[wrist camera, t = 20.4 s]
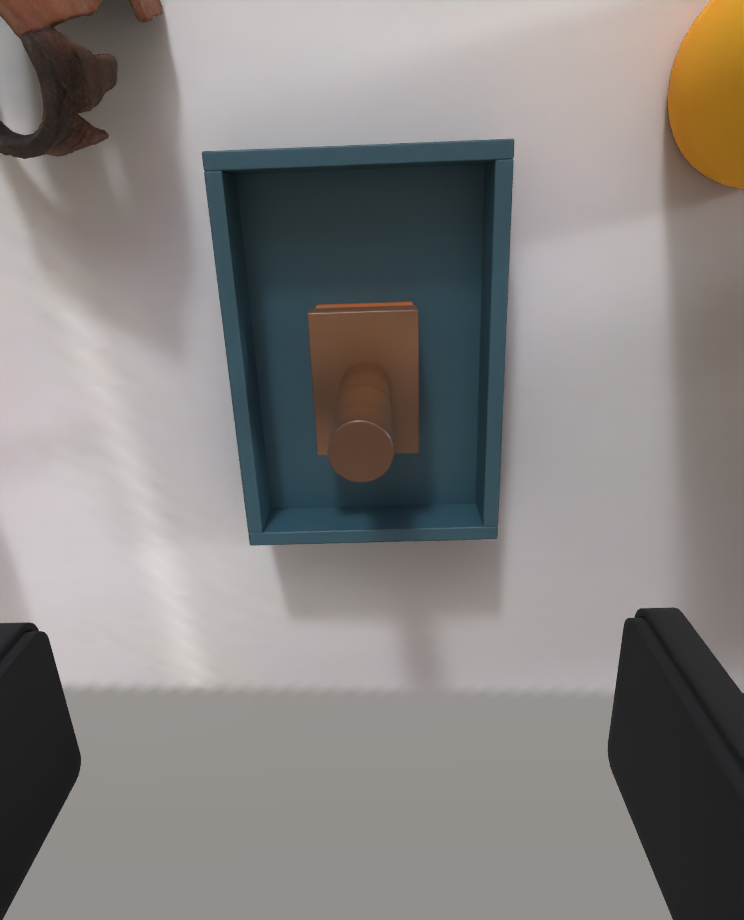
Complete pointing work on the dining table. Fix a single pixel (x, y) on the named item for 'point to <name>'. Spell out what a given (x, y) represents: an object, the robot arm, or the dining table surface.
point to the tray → (365, 281)
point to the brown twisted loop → (62, 74)
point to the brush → (365, 385)
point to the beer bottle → (711, 93)
